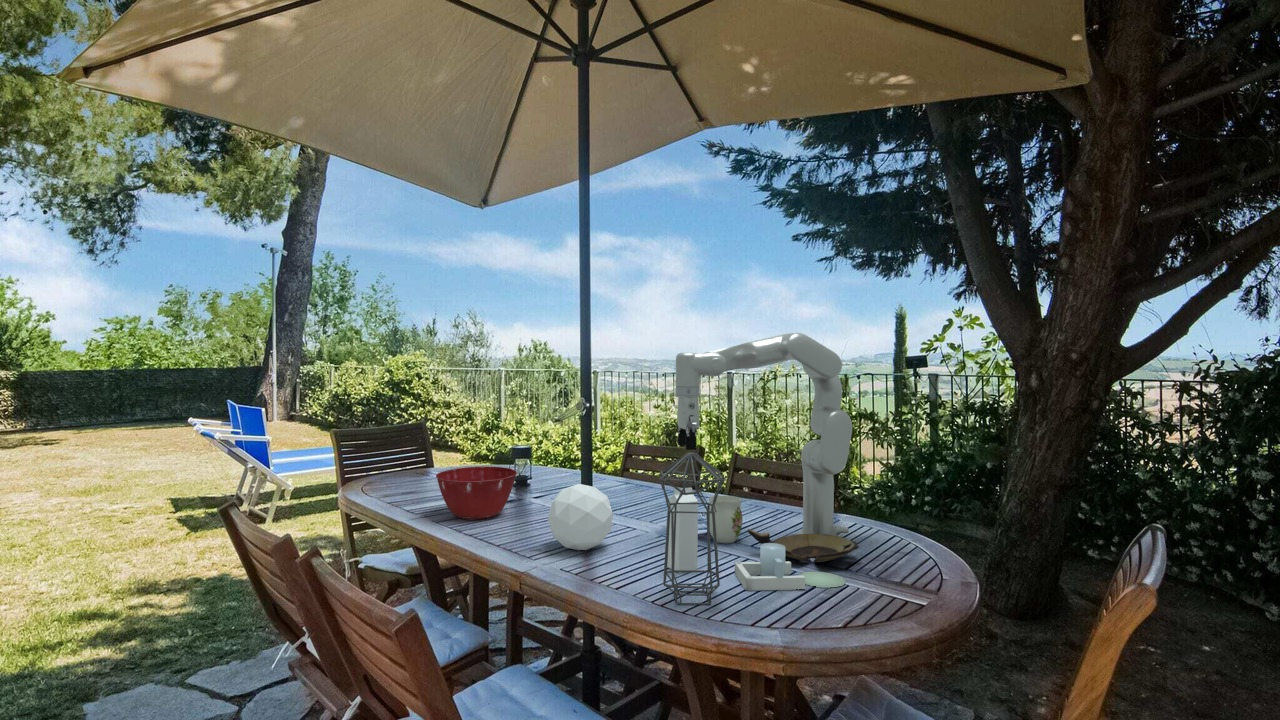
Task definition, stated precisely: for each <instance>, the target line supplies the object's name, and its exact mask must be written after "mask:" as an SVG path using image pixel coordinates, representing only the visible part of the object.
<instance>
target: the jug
mask: <svg viewBox="0 0 1280 720" xmlns="http://www.w3.org/2000/svg"><path fill="white" fill-rule="evenodd" d="M759 547H760V548H759V549H760V551H759V552H760V553H759V560H760V561H759V562H760V575H759V576H776V577H777V578H783V576H786V574H785V561H786V556H785V548H786V547H785V546H784V545H781V544H777V543H764V544H761V543H760V546H759Z"/></svg>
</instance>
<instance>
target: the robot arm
mask: <svg viewBox="0 0 1280 720" xmlns="http://www.w3.org/2000/svg"><path fill="white" fill-rule="evenodd" d="M788 361H797V362H798V363H800V364H801V365H802V369H803V371H804V373H805V374H806V375H807V376H808V377H809V379H811V381H812V383H813V387H814V398H813V404H812V408H811V409H812V410H811V416H810V422H809V423H810V424H809V425H810V429H811V430H812V432H813V433H814V434H816V435H818V436H820V439H812V440H809V441H808V442H807V443H805V445H804V446H803V448H802V450H801V455H800V457H801V459H800V461H801V467H802V477H803V478H802V481H803V487H802V488H803V489H802V491H803V492H802V495H803V496H802V498H803V499H802V530H799V532H797V534H809V533H810V534H815V533H818V534H825V535H826V534H828V535H834V536H839V534H849V532H850V531H849V526H848V527H847V526H845V527H844V526H841V525H836V524H834V508H835V507H834V503H835V502H834V500H835V498H834V496H835V494H834V493H835V481H834V475H837V474H839V473H841V472H842V471H843V470H844V468H845V467H846V466H847V465H846V464H847V462H848V459H849V454H850V453H849V452H850V445H851V440H852V434H853V423H852V420H851V417H850V415H849V413H847V412H846V411H845V410H843V409H841V408H842V400H843V399H842V398H843V385H842V381H841V379H840V377H839V375H840V373H841V372H842V369H843V363H842V360H841V358H840V356H839V354H837V353H836V352H834V351H833V350H831V349H830V348H829V347H827V346H825V345H823V344H822V343H819V342H818V341H816V340H815V339H813V338H812V337H810V336H809V335H806V334H805V333H802V332H792V333H791V332H790V333H783V334H779V335H775V336H770V337H767V338H766V337H765V338H762V339H758V340H757V339H756V340H751V341H747V342H744V343H740V344H737V345H734V346H728V347H724V348H718V349H715V350H711V351H705V352H703V353H697V352H680V353H677V355H676V356H675V393H674V394H675V398H677V413H676V415H677V416H676V417H677V419H676V420H677V421H676V423H677V426H678V429H677V445H678V446H679V447H682V446H685V450H687V451H695V450H697V430H699V429H700V405H699V398H700V397H701V395H700V394H701V393H700V392H701V390H700V387H701V385H700V384H701V376H704V377H713V378H714V377H719V376H721V375H723V374H724V372H728V371H733V370H734V371H735V370H745V369H746V370H747V369H749V370H750V369H751V370H752V369H758V368H762V367H766V366H769V365H775V364H778V363H779V364H780V363H784V362H788Z"/></svg>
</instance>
